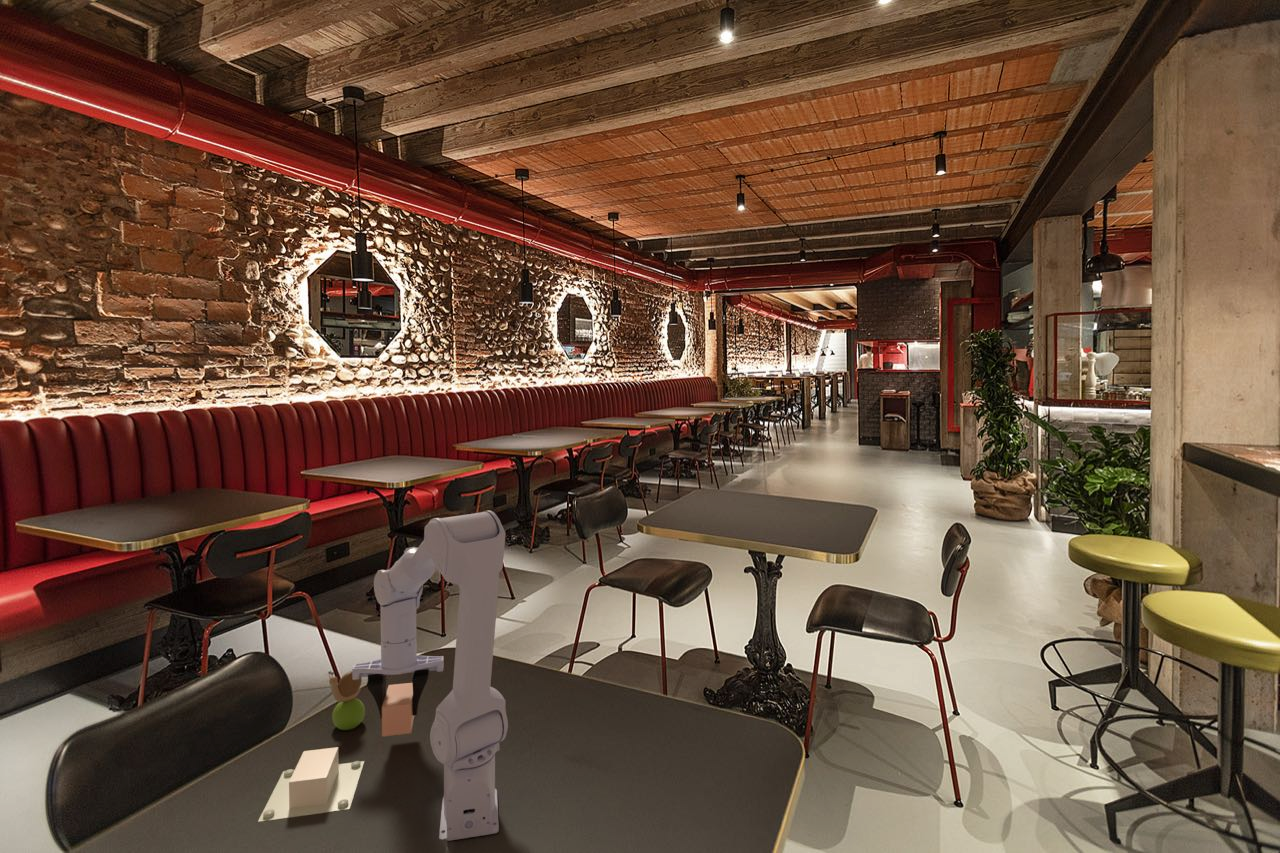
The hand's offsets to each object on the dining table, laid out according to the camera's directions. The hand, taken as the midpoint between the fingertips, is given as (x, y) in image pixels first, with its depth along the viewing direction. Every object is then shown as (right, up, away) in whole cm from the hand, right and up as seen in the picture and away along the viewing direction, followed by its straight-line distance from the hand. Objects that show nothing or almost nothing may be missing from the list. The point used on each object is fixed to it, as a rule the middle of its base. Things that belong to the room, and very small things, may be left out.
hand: (399, 714), depth 107 cm
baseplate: (-8, -7, -12) cm, 16 cm away
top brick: (0, -2, 0) cm, 2 cm away
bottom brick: (-8, -6, -12) cm, 16 cm away
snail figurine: (-12, -6, +6) cm, 14 cm away
